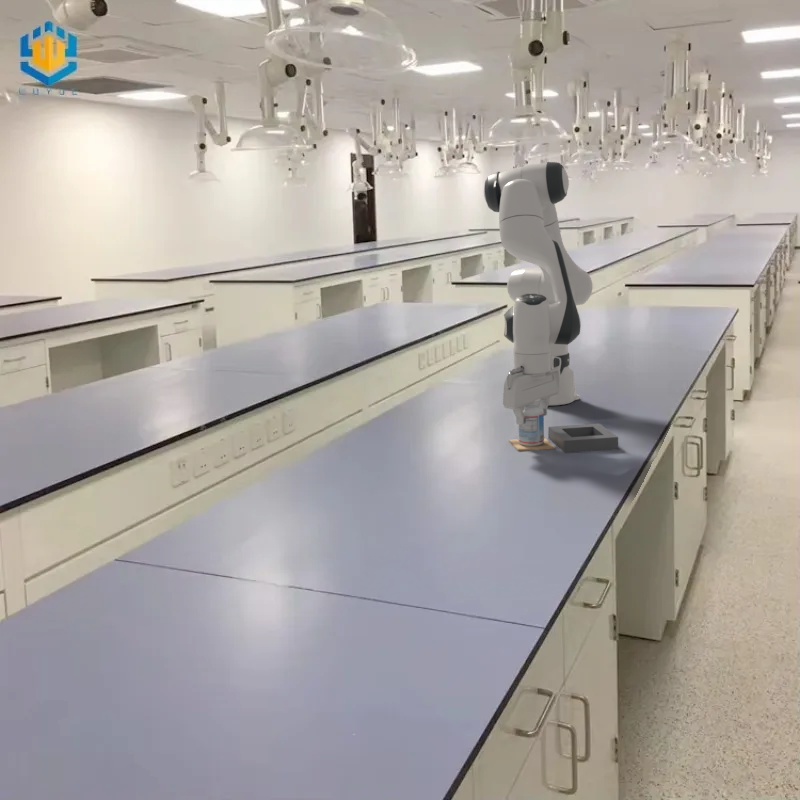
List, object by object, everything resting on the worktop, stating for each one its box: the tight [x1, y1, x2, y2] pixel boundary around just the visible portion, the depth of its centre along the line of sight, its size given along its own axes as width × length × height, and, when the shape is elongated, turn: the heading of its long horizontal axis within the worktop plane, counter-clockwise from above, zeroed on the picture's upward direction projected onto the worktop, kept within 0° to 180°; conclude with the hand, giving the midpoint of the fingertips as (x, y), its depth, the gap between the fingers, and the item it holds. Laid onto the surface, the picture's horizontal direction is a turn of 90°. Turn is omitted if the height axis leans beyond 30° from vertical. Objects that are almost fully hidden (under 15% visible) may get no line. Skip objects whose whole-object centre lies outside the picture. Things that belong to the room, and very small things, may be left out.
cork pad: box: [508, 436, 556, 452], centre depth 208 cm, size 9×9×1 cm
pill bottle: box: [518, 399, 545, 446], centre depth 207 cm, size 6×6×11 cm
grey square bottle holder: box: [547, 423, 619, 454], centre depth 207 cm, size 13×13×3 cm
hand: (531, 419), depth 207 cm, fingers open, 8 cm apart
